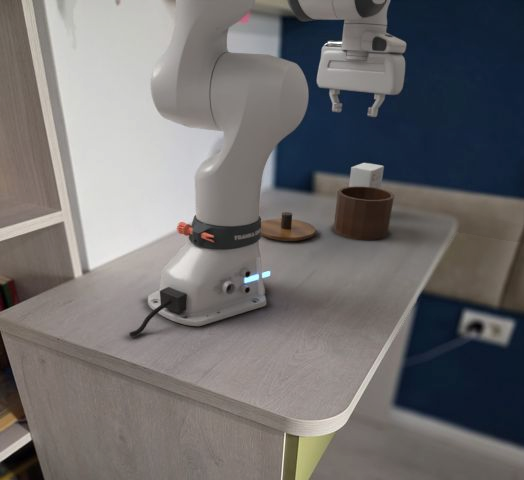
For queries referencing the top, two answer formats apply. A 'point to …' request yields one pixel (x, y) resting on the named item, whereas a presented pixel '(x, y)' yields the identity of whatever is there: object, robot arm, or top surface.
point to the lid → (287, 228)
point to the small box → (366, 175)
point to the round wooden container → (363, 212)
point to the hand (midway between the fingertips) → (353, 114)
